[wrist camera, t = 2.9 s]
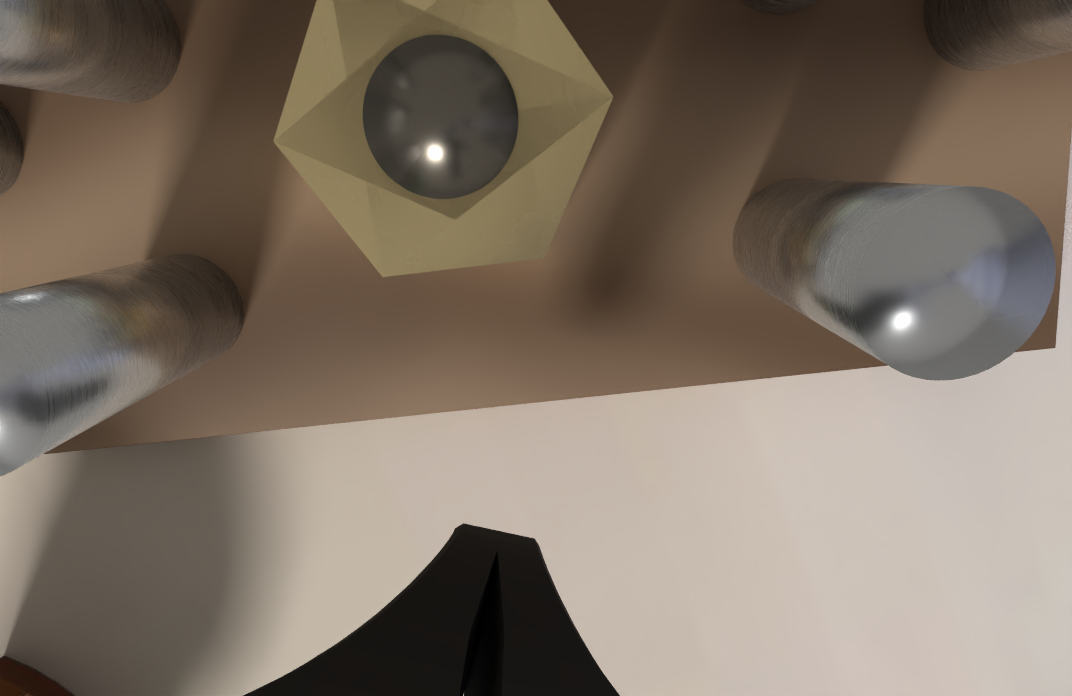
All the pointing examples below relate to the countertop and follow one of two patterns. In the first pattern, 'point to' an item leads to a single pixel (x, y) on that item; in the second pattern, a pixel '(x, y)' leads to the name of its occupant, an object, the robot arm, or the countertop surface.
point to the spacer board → (579, 241)
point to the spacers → (758, 239)
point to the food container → (26, 681)
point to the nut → (442, 127)
